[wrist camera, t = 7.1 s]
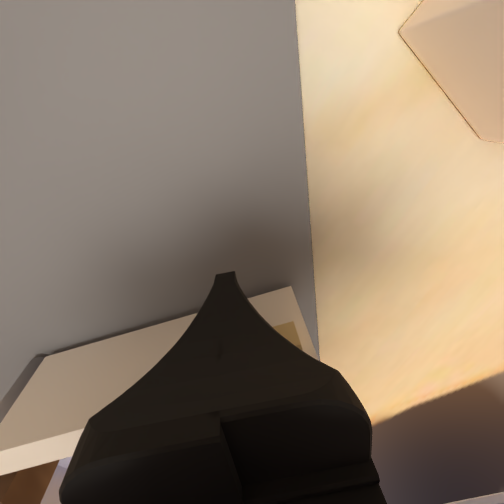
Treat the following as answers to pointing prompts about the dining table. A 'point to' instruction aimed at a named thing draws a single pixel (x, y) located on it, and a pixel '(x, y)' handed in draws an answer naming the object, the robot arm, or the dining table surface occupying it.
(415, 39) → the milk
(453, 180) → the dining table surface
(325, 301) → the dining table surface
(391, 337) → the dining table surface
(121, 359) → the gate leaf
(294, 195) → the base
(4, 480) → the gate posts
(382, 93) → the dining table surface
